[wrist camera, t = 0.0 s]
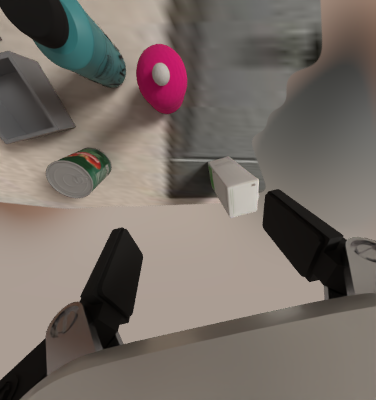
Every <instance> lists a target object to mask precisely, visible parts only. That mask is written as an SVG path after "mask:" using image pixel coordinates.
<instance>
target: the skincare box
mask: <svg viewBox="0 0 376 400" xmlns="http://www.w3.org/2000/svg"><path fill="white" fill-rule="evenodd" d="M208 167H209V174H210V180H211V186H212V188H213V190H214V191H215V193H216V195H217V196H218V198H219V200H220V201H221V203H222V205H223V206H224V208H225V210H226V212H227V213H228V215H229V217H230V218H232V217H236V216H240V215H243V214H247V213H251V212H255V211H257V203H258V198H259V194H258V186H259V179H258V178H256V177H254V176H253V175H252V174H250V173H249V172H248V171H247V170H245V169H244V168H243V167H242V166H240V165H239V164H238V163H236V162H235V161H234V160H233V159H231V158H230V157H229V156H228V157H225V158H221V159H217V160H213V161H210V162H208Z"/></svg>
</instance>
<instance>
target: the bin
mask: <svg viewBox="0 0 376 400" xmlns="http://www.w3.org/2000/svg"><path fill="white" fill-rule="evenodd" d="M74 127H76V126H75V125H74V123H73V121H72V119H71V118H70V116H69V114H68V113H67V111H66V109H65V108H64V106H63V104H62V103H61V101H60V99H59V97H58V96H57V94H56V92H55V91H54V89H53V87H52V86H51V84H50V82H49V80H48V79H47V77H46V75H45V74H44V72H43V70H42V69H41V67H40V65H39V63H38V62H37V61H34V60H32V59H29V58H26V57H24V56H21V55H18V54H16V53H13V52H10V51H5V52H2V53H0V138H1V139H2V140H3V141H4V142H5V143H6V144H9V143H14V142H19V141H24V140H29V139H33V138H37V137H40V136H44V135H48V134H52V133H55V132H59V131H63V130H67V129H70V128H74Z"/></svg>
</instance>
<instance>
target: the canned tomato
mask: <svg viewBox="0 0 376 400" xmlns="http://www.w3.org/2000/svg"><path fill="white" fill-rule="evenodd" d="M111 168H112V167H111V162H110V160H109V158H108V157H107V155H106V154H105V153H103V152H102V151H100V150H98V149H96V148H84V149H82V150H80V151H78V152H76V153H74V154H71V155H69V156H67V157H64V158H62V159H60V160H58V161H55V162H53V163H51V164H50V165H49V166H48V167H47V169H46V177H47V180H48V182H49V184H50V185H51V186H52V187H53V188H54V189H55V190H56V191H58V192H59V193H61V194H63V195H65V196H67V197H71V198H83V197H86V196H88V195H89V194H90V193H91V192H92V191H93V190H94V189H95V188H96V187H97V186H98V185H99V184H100V182H101V181H102V180H103V179H104V178H105V177H106V176H107V175H108V174H109V173H110V171H111Z"/></svg>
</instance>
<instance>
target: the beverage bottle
mask: <svg viewBox="0 0 376 400" xmlns="http://www.w3.org/2000/svg"><path fill="white" fill-rule="evenodd" d="M0 7H1V9H2V11H3V12H4V14H5V15H6V17H7V18H8V19H9V20H10V21H11V22H12V24H14V25H15V26H16V27H17V28H18V29H19V30H20V31H21V32H23V33H24V34H26V35H27V36H29V37H30V38H32V39H33V41H34V42H35V44H36V45H37V47H38V48H39V49H40V50H41V52H42V53H43V54H44V55H45V56H46V57H47V58H48V59H50V60H51V61H52V62H53V63H55V64H56V65H58V66H60V67H62V68H64V69H67V70H71V71H73V72H75V73H78V74H80V75H81V76H83V77H84V78H85V77H86V79H87V78H88V80H89V79H91V81H94V82H97V83H98V84H99V83H100V85H101V84H103V85H102V86H107V87H109V88H112V87H115V88H116V87H117V86H119V85H120V86H121V85H122V84H123V81H124V79H125V75H126V68H125V63H124V58H122V56H121V55H122V54H120V53H119V52H118V51H119V50H118V49H117V48H116V47H114V46H115V45H113V44H112V43H111V41H110V39H109V38H108V37H107V36H106V35H105V34H104V31H103V32H102V31H101V29H100V28H99V27H98V26H97V25H96V24H95V23H94V22H95V21H93V20H92V19H91V18H90V17H89V16H88V14H87V13H86V12H85V11H84V10H83V8H82V7H81V5H80V4H79V3H78V1H77V0H0ZM80 75H79V76H80Z"/></svg>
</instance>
